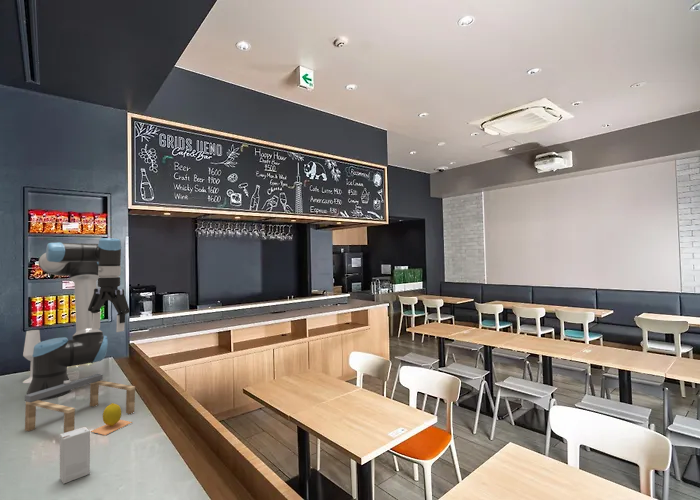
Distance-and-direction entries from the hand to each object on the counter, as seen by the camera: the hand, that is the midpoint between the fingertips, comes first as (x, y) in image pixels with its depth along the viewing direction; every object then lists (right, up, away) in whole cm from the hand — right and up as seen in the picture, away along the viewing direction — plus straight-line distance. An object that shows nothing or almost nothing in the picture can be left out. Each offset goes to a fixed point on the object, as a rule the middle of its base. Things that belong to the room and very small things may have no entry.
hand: (108, 330), depth 145 cm
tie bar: (-10, -20, -9) cm, 24 cm away
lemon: (+13, -30, -17) cm, 37 cm away
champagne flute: (-58, -32, +31) cm, 73 cm away
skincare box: (+22, -30, -46) cm, 59 cm away
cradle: (-1, -30, -12) cm, 33 cm away
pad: (+13, -30, -17) cm, 37 cm away
